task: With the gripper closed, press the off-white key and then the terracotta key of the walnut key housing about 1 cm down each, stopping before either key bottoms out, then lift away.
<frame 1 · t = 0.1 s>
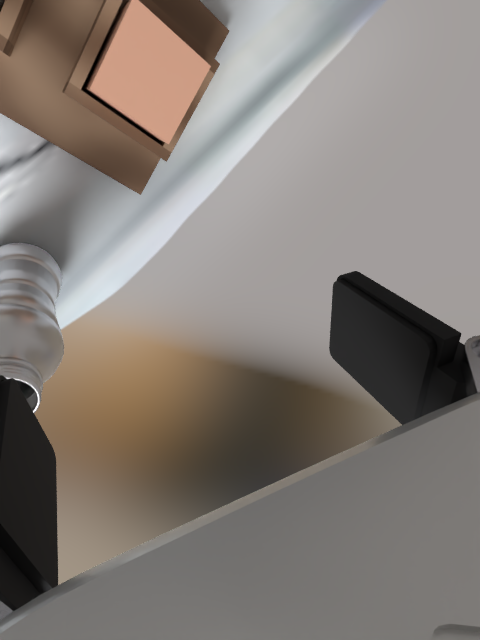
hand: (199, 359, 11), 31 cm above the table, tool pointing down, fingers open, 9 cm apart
terracotta key: (145, 77, 28), point 7 cm above the table, slide at 0.0 cm
key housing: (59, 25, 30), on the table
plastic bottle: (23, 267, 37), on the table
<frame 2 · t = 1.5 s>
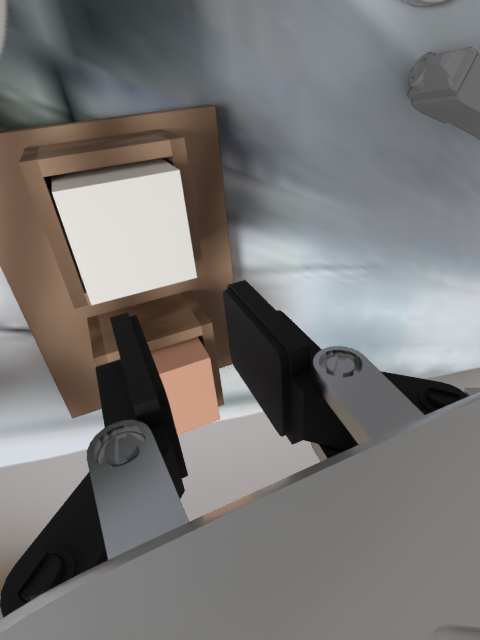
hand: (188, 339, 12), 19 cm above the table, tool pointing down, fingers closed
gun: (476, 131, 38), on the table
terracotta key: (166, 382, 28), point 7 cm above the table, slide at 0.0 cm
key housing: (131, 274, 30), on the table
offwhite key: (126, 226, 22), point 7 cm above the table, slide at 0.0 cm
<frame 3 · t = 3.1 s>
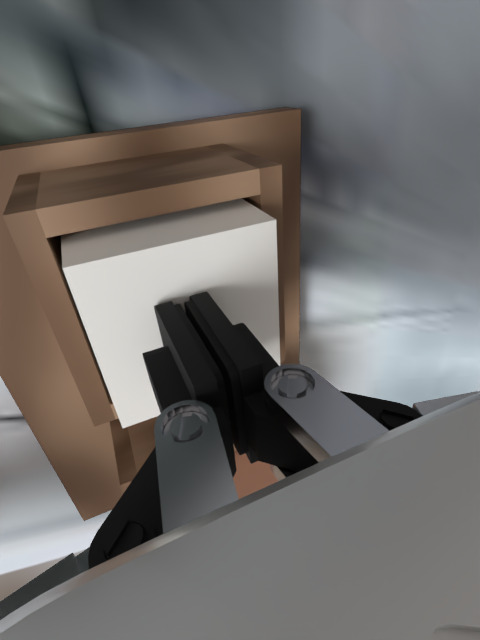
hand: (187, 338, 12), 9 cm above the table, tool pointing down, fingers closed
terracotta key: (217, 496, 20), point 7 cm above the table, slide at 0.0 cm
key housing: (166, 338, 22), on the table
offwhite key: (174, 296, 14), point 6 cm above the table, slide at 0.6 cm, touching gripper
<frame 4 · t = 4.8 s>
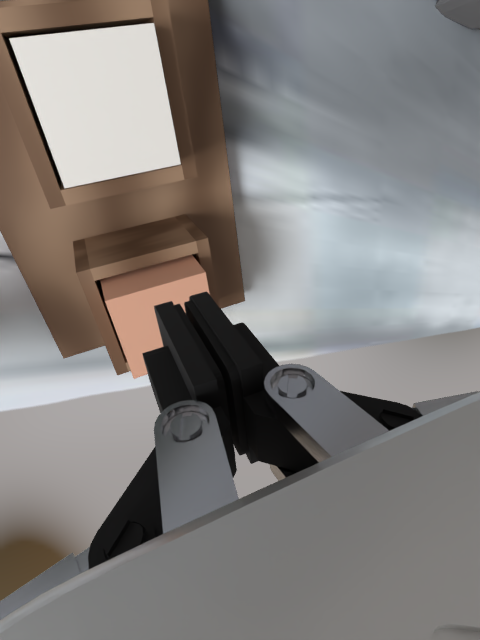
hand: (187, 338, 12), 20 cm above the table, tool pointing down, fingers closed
terracotta key: (159, 308, 26), point 7 cm above the table, slide at 0.0 cm
key housing: (120, 196, 28), on the table
offwhite key: (101, 107, 20), point 6 cm above the table, slide at 1.1 cm
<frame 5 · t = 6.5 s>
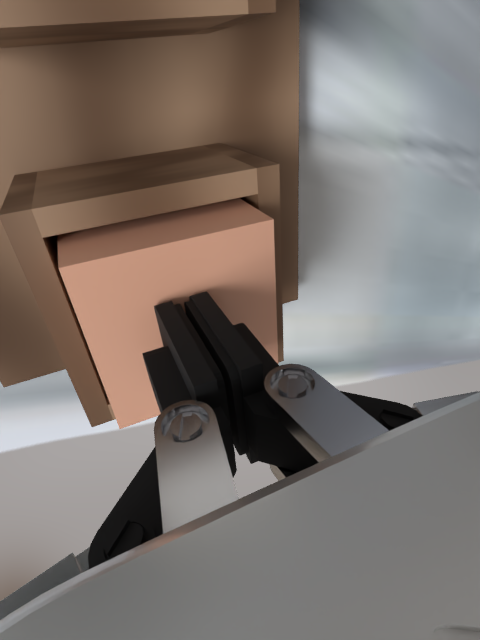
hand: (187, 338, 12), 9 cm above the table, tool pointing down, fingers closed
terracotta key: (171, 296, 14), point 6 cm above the table, slide at 0.6 cm, touching gripper
key housing: (107, 102, 15), on the table
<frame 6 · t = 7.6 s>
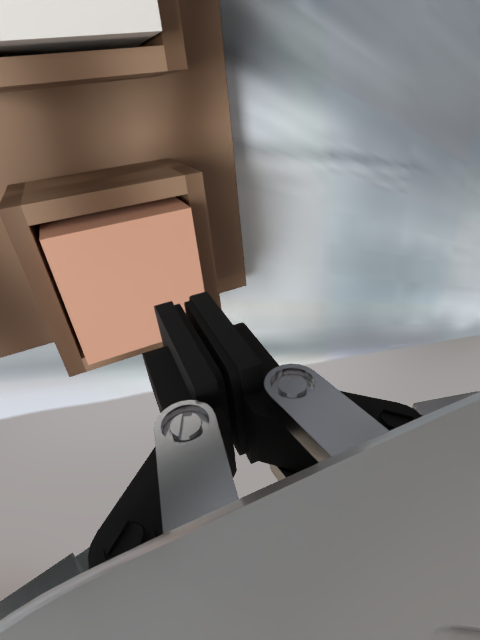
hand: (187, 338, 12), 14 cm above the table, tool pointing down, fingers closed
terracotta key: (127, 269, 19), point 6 cm above the table, slide at 1.1 cm
key housing: (79, 128, 20), on the table
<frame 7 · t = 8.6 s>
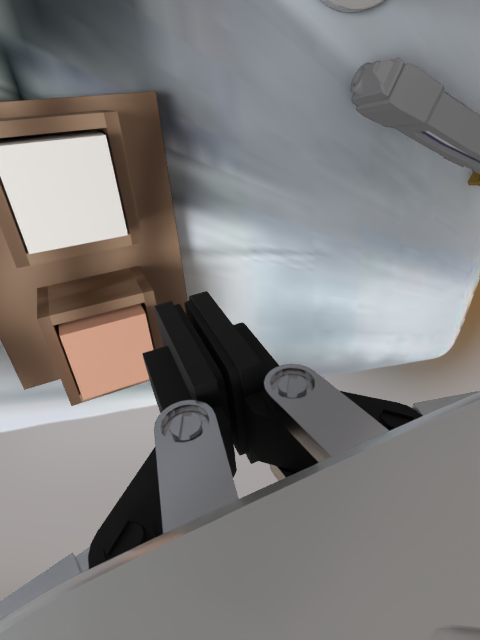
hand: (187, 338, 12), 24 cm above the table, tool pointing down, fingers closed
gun: (418, 136, 42), on the table
terracotta key: (108, 341, 31), point 6 cm above the table, slide at 1.1 cm
key housing: (81, 249, 32), on the table
offwhite key: (64, 188, 25), point 6 cm above the table, slide at 1.1 cm
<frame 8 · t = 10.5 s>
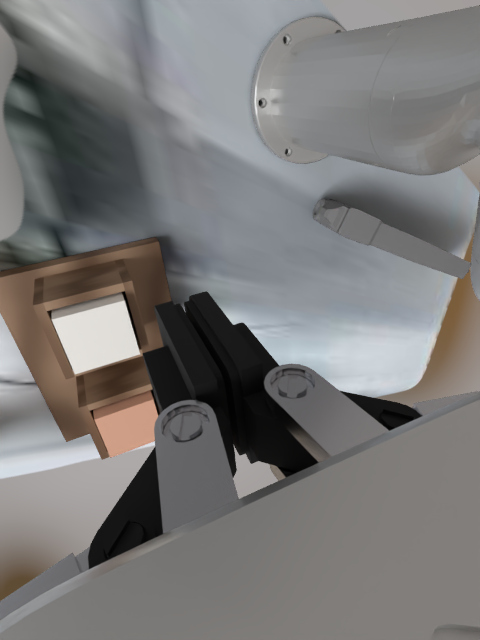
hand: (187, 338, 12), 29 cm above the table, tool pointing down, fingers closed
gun: (375, 232, 52), on the table
terracotta key: (127, 413, 42), point 6 cm above the table, slide at 1.1 cm
key housing: (106, 343, 44), on the table
offwhite key: (96, 324, 36), point 6 cm above the table, slide at 1.1 cm
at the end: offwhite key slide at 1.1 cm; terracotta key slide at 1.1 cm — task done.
